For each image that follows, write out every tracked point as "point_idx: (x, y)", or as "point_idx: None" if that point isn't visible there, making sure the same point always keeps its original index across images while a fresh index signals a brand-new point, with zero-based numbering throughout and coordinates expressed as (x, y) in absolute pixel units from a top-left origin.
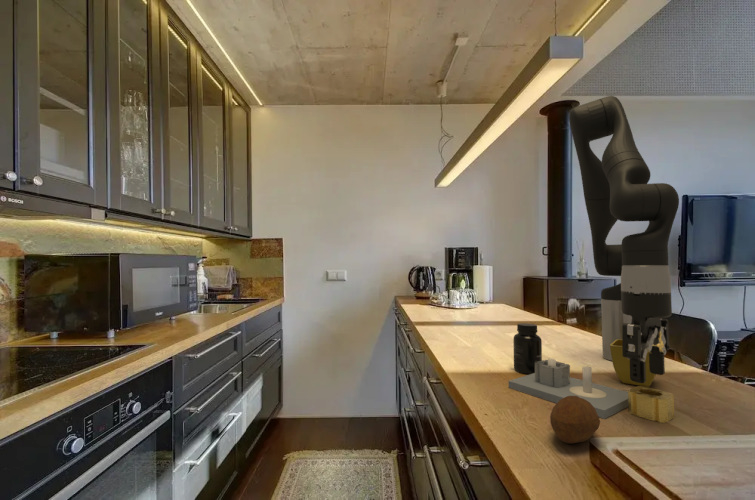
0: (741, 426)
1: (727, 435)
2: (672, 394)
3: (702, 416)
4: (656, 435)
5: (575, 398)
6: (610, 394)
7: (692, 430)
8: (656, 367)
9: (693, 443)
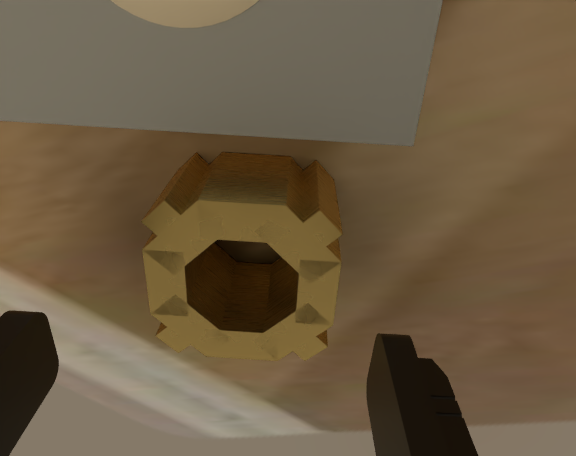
0: None
1: (263, 405)
2: (301, 358)
3: None
4: (49, 288)
5: None
6: (268, 32)
7: None
8: (382, 402)
9: (101, 362)
